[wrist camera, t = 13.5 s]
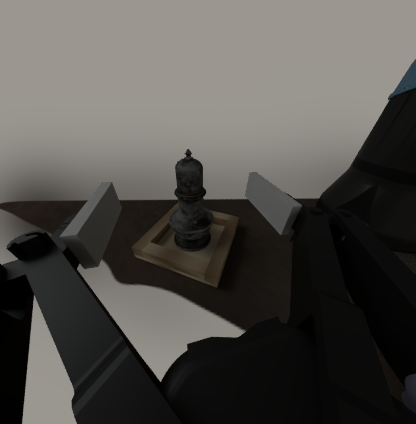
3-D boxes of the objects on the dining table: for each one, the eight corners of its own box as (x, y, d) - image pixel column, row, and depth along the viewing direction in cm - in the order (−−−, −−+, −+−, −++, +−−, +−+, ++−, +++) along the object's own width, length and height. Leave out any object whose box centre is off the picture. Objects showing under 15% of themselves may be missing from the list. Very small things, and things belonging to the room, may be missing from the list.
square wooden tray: (237, 225, 24) (239, 217, 23) (217, 287, 16) (218, 278, 15) (178, 211, 27) (177, 202, 26) (135, 256, 19) (131, 247, 18)
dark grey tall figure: (179, 222, 24) (170, 141, 17) (215, 226, 23) (220, 144, 16) (165, 250, 19) (144, 154, 12) (210, 256, 19) (214, 159, 12)
